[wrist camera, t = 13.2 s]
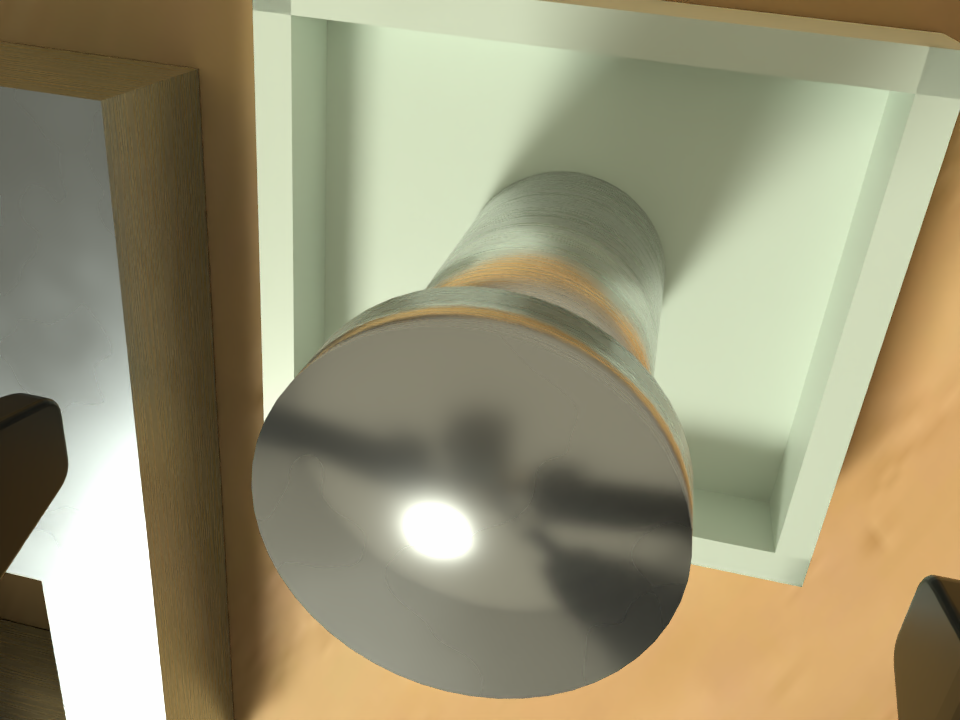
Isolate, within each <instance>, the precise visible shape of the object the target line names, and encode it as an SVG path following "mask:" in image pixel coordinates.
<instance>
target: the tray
mask: <svg viewBox="0 0 960 720" xmlns="http://www.w3.org/2000/svg"><path fill="white" fill-rule="evenodd" d="M253 37H254V74H255V111H256V148H257V185H258V222H259V259H260V296H261V333H262V370H263V407H264V421H265V419H266V417H267V416H268V414H269V412H270V410H271V409H272V407H273V405H274V404H275V402H276V400H277V399H278V398H279V396H280V395H281V394H282V393H283V391H284V390H285V389H286V388H287V387H288V385H289V384H290V383H291V382H292V381H293V379H294V378H295V377H296V376H297V375H298V374H299V372H300V371H301V370H302V369H303V368H304V367H305V365H306V364H307V363H308V362H309V361H310V360H311V359H312V357H313V356H314V355H315V354H316V353H317V352H318V350H319V349H320V348H321V347H322V346H323V345H324V343H325V342H326V341H327V340H328V339H329V338H330V337H331V336H332V335H333V334H334V333H335V332H336V331H338V330H339V329H340V328H341V327H342V326H343V325H344V324H346V323H347V322H348V321H350V320H351V319H353V318H354V317H356V316H358V315H359V314H361V313H362V312H364V311H365V310H367V309H369V308H371V307H373V306H375V305H378V304H380V303H382V302H384V301H387V300H389V299H391V298H394V297H398V296H401V295H405V294H408V293H412V292H415V291H420V290H425V288H426V287H427V285H428V284H429V283H430V281H431V280H432V279H433V277H434V276H435V274H436V273H437V272H438V270H439V269H440V267H441V266H442V265H443V263H444V262H445V261H446V259H447V258H448V256H449V255H450V254H451V252H452V251H453V249H454V248H455V247H456V245H457V244H458V243H459V241H460V240H461V238H462V237H463V236H464V234H465V233H466V231H467V230H468V229H469V227H470V226H471V225H472V223H473V222H474V220H475V219H476V218H477V216H478V215H479V213H480V212H481V211H482V209H483V208H484V207H485V206H486V205H487V203H488V202H489V201H490V200H491V199H492V198H493V197H494V196H496V195H497V194H498V193H499V192H500V191H501V190H503V189H505V188H506V187H508V186H509V185H511V184H512V183H515V182H517V181H519V180H521V179H523V178H526V177H529V176H532V175H535V174H540V173H546V172H558V171H565V172H577V173H582V174H586V175H591V176H593V177H596V178H599V179H602V180H604V181H606V182H608V183H610V184H612V185H614V186H616V187H617V188H619V189H620V190H622V191H623V192H625V193H626V194H628V195H629V196H630V197H631V198H632V199H633V200H634V201H635V202H636V203H638V205H639V206H640V207H641V208H642V209H643V210H644V212H645V213H646V214H647V216H648V217H649V219H650V220H651V222H652V223H653V225H654V227H655V229H656V231H657V234H658V236H659V238H660V242H661V245H662V248H663V253H664V260H665V280H664V289H663V298H662V307H661V316H660V325H659V334H658V343H657V352H656V361H655V370H654V379H655V380H656V381H657V383H658V384H659V386H660V387H661V389H662V390H663V392H664V393H665V395H666V396H667V398H668V399H669V401H670V403H671V405H672V407H673V409H674V411H675V413H676V415H677V417H678V419H679V421H680V423H681V425H682V428H683V431H684V434H685V437H686V440H687V443H688V447H689V451H690V457H691V463H692V469H693V532H692V559H691V564H693V565H698V566H703V567H708V568H713V569H717V570H722V571H727V572H732V573H737V574H742V575H746V576H751V577H756V578H761V579H766V580H771V581H775V582H780V583H785V584H790V585H795V586H800V587H802V585H803V582H804V579H805V576H806V573H807V570H808V567H809V564H810V561H811V558H812V555H813V552H814V549H815V546H816V543H817V540H818V537H819V534H820V531H821V528H822V525H823V522H824V519H825V516H826V513H827V510H828V507H829V504H830V501H831V498H832V495H833V491H834V488H835V485H836V482H837V479H838V476H839V473H840V470H841V467H842V464H843V461H844V458H845V455H846V452H847V449H848V446H849V443H850V440H851V437H852V434H853V431H854V428H855V425H856V422H857V419H858V416H859V413H860V410H861V407H862V404H863V401H864V398H865V395H866V392H867V389H868V386H869V383H870V380H871V377H872V374H873V371H874V368H875V365H876V362H877V358H878V355H879V352H880V349H881V346H882V343H883V340H884V337H885V334H886V331H887V328H888V325H889V322H890V319H891V316H892V313H893V310H894V307H895V304H896V301H897V298H898V295H899V292H900V289H901V286H902V283H903V280H904V277H905V274H906V271H907V268H908V265H909V262H910V259H911V256H912V253H913V250H914V247H915V244H916V241H917V238H918V235H919V232H920V229H921V226H922V222H923V219H924V216H925V213H926V210H927V207H928V204H929V201H930V198H931V195H932V192H933V189H934V186H935V183H936V180H937V177H938V174H939V171H940V168H941V165H942V162H943V159H944V156H945V153H946V150H947V147H948V144H949V141H950V138H951V135H952V132H953V129H954V126H955V123H956V120H957V117H958V114H959V111H960V42H958V41H956V40H954V39H953V38H951V37H949V36H947V35H945V34H943V33H937V32H929V31H920V30H911V29H903V28H894V27H886V26H877V25H868V24H860V23H851V22H843V21H834V20H825V19H817V18H808V17H800V16H791V15H782V14H774V13H765V12H757V11H748V10H739V9H731V8H722V7H714V6H705V5H696V4H688V3H679V2H671V1H662V0H253Z"/></svg>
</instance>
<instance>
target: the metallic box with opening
mask: <svg viewBox="0 0 960 720" xmlns="http://www.w3.org/2000/svg"><path fill="white" fill-rule="evenodd" d="M14 393H26V394H31V395H36V396H41V397H46V398H50V399H52V400H54V401H55V402H56V403H57V404H58V406H59V407H60V410H61V414H62V420H63V427H64V434H65V440H66V447H67V454H68V461H69V465H68V473H67V477H66V479H65V481H64V483H63V485H62V487H61V489H60V490H59V492H58V493H57V495H56V496H55V498H54V499H53V501H52V502H51V504H50V505H49V507H48V508H47V510H46V512H45V513H44V515H43V516H42V518H41V519H40V521H39V522H38V524H37V525H36V527H35V528H34V530H33V531H32V533H31V534H30V536H29V537H28V539H27V540H26V542H25V543H24V545H23V547H22V548H21V550H20V551H19V553H18V554H17V556H16V557H15V559H14V560H13V562H12V563H11V565H10V566H9V568H8V569H7V571H6V573H10V574H15V575H19V576H23V577H27V578H32V579H36V580H40V581H42V586H43V592H44V598H45V603H46V609H47V614H48V620H49V626H50V631H47V630H43V629H39V628H35V627H30V626H26V625H22V624H18V623H14V622H10V621H6V620H2V619H0V720H234V711H233V693H232V675H231V657H230V638H229V620H228V602H227V584H226V566H225V548H224V529H223V511H222V493H221V475H220V457H219V439H218V420H217V402H216V384H215V366H214V348H213V330H212V311H211V293H210V275H209V257H208V239H207V221H206V202H205V184H204V166H203V148H202V130H201V112H200V93H199V75H198V69H196V68H189V67H182V66H174V65H167V64H160V63H153V62H145V61H138V60H131V59H124V58H116V57H109V56H102V55H95V54H87V53H80V52H73V51H66V50H58V49H51V48H44V47H37V46H29V45H22V44H15V43H8V42H0V397H3V396H6V395H10V394H14Z"/></svg>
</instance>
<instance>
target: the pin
mask: <svg viewBox="0 0 960 720" xmlns="http://www.w3.org/2000/svg"><path fill="white" fill-rule="evenodd" d="M664 280H665V260H664V253H663V248H662V245H661V242H660V238H659V236H658V234H657V231H656V229H655V227H654V225H653V223H652V222H651V220H650V219H649V217H648V216H647V214H646V213H645V212H644V210H643V209H642V208H641V207H640V206H639V205H638V203H636V202H635V201H634V200H633V199H632V198H631V197H630V196H629V195H628V194H626V193H625V192H623V191H622V190H620V189H619V188H617V187H616V186H614V185H612V184H610V183H608V182H606V181H604V180H602V179H599V178H596V177H593V176H591V175H586V174H582V173H577V172H565V171H558V172H546V173H540V174H535V175H532V176H529V177H526V178H523V179H521V180H519V181H517V182H515V183H512V184H511V185H509V186H508V187H506V188H505V189H503V190H501V191H500V192H499V193H498V194H497V195H496V196H494V197H493V198H492V199H491V200H490V201H489V202H488V203H487V205H486V206H485V207H484V208H483V209H482V211H481V212H480V213H479V215H478V216H477V218H476V219H475V220H474V222H473V223H472V225H471V226H470V227H469V229H468V230H467V231H466V233H465V234H464V236H463V237H462V238H461V240H460V241H459V243H458V244H457V245H456V247H455V248H454V249H453V251H452V252H451V254H450V255H449V256H448V258H447V259H446V261H445V262H444V263H443V265H442V266H441V267H440V269H439V270H438V272H437V273H436V274H435V276H434V277H433V279H432V280H431V281H430V283H429V284H428V285H427V287H426V288H425V290H420V291H415V292H412V293H408V294H405V295H401V296H398V297H394V298H391V299H389V300H387V301H384V302H382V303H380V304H378V305H375V306H373V307H371V308H369V309H367V310H365V311H364V312H362V313H361V314H359V315H358V316H356V317H354V318H353V319H351V320H350V321H348V322H347V323H346V324H344V325H343V326H342V327H341V328H340V329H339V330H338V331H336V332H335V333H334V334H333V335H332V336H331V337H330V338H329V339H328V340H327V341H326V342H325V343H324V345H323V346H322V347H321V348H320V349H319V350H318V352H317V353H316V354H315V355H314V356H313V357H312V359H311V360H310V361H309V362H308V363H307V364H306V365H305V367H304V368H303V369H302V370H301V371H300V372H299V374H298V375H297V376H296V377H295V378H294V379H293V381H292V382H291V383H290V384H289V385H288V387H287V388H286V389H285V390H284V391H283V393H282V394H281V395H280V396H279V398H278V399H277V400H276V402H275V404H274V405H273V407H272V409H271V410H270V412H269V414H268V416H267V417H266V419H265V421H264V424H263V427H262V429H261V432H260V435H259V437H258V440H257V443H256V448H255V454H254V459H253V464H252V496H253V505H254V512H255V516H256V520H257V524H258V527H259V531H260V534H261V537H262V539H263V542H264V544H265V547H266V549H267V552H268V554H269V556H270V558H271V560H272V562H273V564H274V566H275V567H276V569H277V571H278V573H279V575H280V577H281V578H282V579H283V581H284V582H285V584H286V585H287V586H288V588H289V589H290V591H291V592H292V594H293V595H294V596H295V598H296V599H297V600H298V601H299V602H300V603H301V604H302V606H303V607H304V608H305V609H306V610H307V611H308V612H309V613H310V615H311V616H312V617H313V618H314V619H316V620H317V621H318V622H319V623H320V624H321V625H322V626H323V627H324V628H325V629H326V630H327V631H329V632H330V633H331V634H332V635H333V636H335V637H336V638H337V639H339V640H340V641H341V642H343V643H344V644H345V645H347V646H348V647H349V648H350V649H352V650H354V651H355V652H357V653H358V654H360V655H362V656H363V657H365V658H366V659H368V660H370V661H371V662H373V663H375V664H377V665H379V666H381V667H383V668H385V669H387V670H389V671H391V672H393V673H395V674H397V675H399V676H402V677H405V678H407V679H410V680H412V681H415V682H417V683H420V684H423V685H426V686H430V687H433V688H437V689H440V690H444V691H448V692H453V693H458V694H463V695H468V696H476V697H486V698H497V699H513V698H532V697H541V696H549V695H554V694H558V693H563V692H567V691H572V690H575V689H578V688H581V687H583V686H586V685H589V684H592V683H595V682H597V681H599V680H601V679H603V678H605V677H607V676H609V675H611V674H613V673H615V672H617V671H619V670H620V669H622V668H623V667H624V666H626V665H627V664H629V663H630V662H632V661H633V660H635V659H636V658H637V657H639V656H640V655H641V654H642V653H643V652H644V651H645V650H646V649H647V648H648V647H649V646H650V645H651V644H653V643H654V642H655V640H656V639H657V638H658V637H659V635H660V634H661V633H662V631H663V630H664V629H665V628H666V626H667V625H668V624H669V622H670V620H671V619H672V617H673V615H674V613H675V611H676V609H677V608H678V606H679V604H680V602H681V599H682V596H683V593H684V590H685V587H686V585H687V582H688V577H689V571H690V565H691V559H692V532H693V469H692V463H691V457H690V451H689V447H688V443H687V440H686V437H685V434H684V431H683V428H682V425H681V423H680V421H679V419H678V417H677V415H676V413H675V411H674V409H673V407H672V405H671V403H670V401H669V399H668V398H667V396H666V395H665V393H664V392H663V390H662V389H661V387H660V386H659V384H658V383H657V381H656V380H655V379H654V370H655V361H656V352H657V343H658V334H659V325H660V316H661V307H662V298H663V289H664Z"/></svg>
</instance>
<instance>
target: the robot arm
mask: <svg viewBox="0 0 960 720" xmlns="http://www.w3.org/2000/svg"><path fill="white" fill-rule="evenodd" d="M68 465H69V461H68V454H67V447H66V440H65V434H64V427H63V420H62V414H61V410H60V407H59V406H58V404H57V403H56V402H55V401H54V400H52V399H50V398H46V397H41V396H36V395H31V394H26V393H14V394H10V395H6V396H3V397H0V580H1V578H2V577H3V575H4V574H5V572H6V571H7V569H8V568H9V566H10V565H11V563H12V562H13V560H14V559H15V557H16V556H17V554H18V553H19V551H20V550H21V548H22V547H23V545H24V543H25V542H26V540H27V539H28V537H29V536H30V534H31V533H32V531H33V530H34V528H35V527H36V525H37V524H38V522H39V521H40V519H41V518H42V516H43V515H44V513H45V512H46V510H47V508H48V507H49V505H50V504H51V502H52V501H53V499H54V498H55V496H56V495H57V493H58V492H59V490H60V489H61V487H62V485H63V483H64V481H65V479H66V477H67V473H68ZM894 672H895V684H896V697H897V709H898V720H960V580H956V579H951V578H946V577H941V576H936V575H930V576H928V577H925V578H924V579H923V580H922V581H921V583H920V584H919V586H918V588H917V590H916V593H915V595H914V598H913V600H912V602H911V605H910V607H909V610H908V612H907V615H906V617H905V619H904V622H903V624H902V627H901V629H900V632H899V634H898V637H897V640H896V644H895V650H894Z"/></svg>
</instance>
